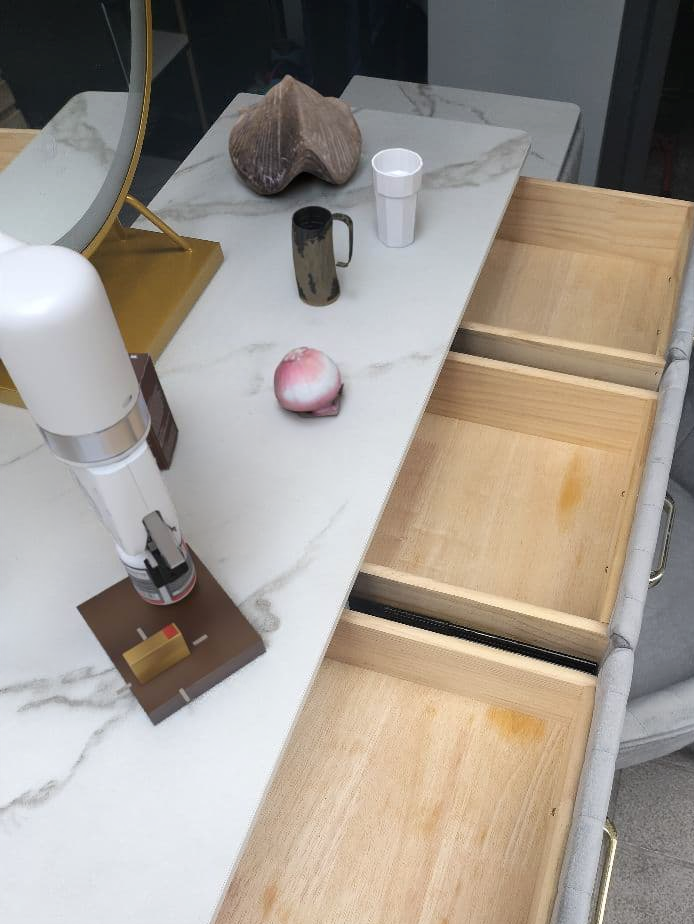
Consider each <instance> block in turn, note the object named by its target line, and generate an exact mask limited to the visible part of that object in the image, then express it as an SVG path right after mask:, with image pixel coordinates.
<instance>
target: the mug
mask: <svg viewBox="0 0 694 924" xmlns="http://www.w3.org/2000/svg"><path fill="white" fill-rule="evenodd" d="M334 220H335V221H340V222H343V223H344V224H345V225H346V226H347V228H348V261H347V262H344V261H337V262H336V258H335V248H334V234H333V231H334V230H333V229H334ZM291 249H292V261H293V269H294V277H295V283H296V287H297V291H298V292H297V293H298V297H299V299H300V300H301V302H303V303H304V304H306V305H309V306H312V307H325V306H329V305H332V304H333V303H334V302H336V301H337V300H338V299H339V298H340V296H341V287H340V283H339V282H340V281H339V278H338V273H337V268H338V267H339V268H343V269H344V268H347V267H349V264H350V263H351V261H352V258H353V253H354V252H353V251H354V222H353V219H352V217H350V216H349V215H347V214H345V213H342V212H335V213H332V212H331V211H330V210H329V209H328V208H325V207H322V206H319V205H308V206H303V207H301V208H299V209H297V210H296V211H295V212H293V214H292V216H291Z"/></svg>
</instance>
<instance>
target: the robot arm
mask: <svg viewBox="0 0 694 924" xmlns="http://www.w3.org/2000/svg"><path fill="white" fill-rule="evenodd" d="M112 308H113V307H112V306H111V303H110V300H109V297H108V294H107V292H106V288H105V285H104V283H103V282H102V279H101V277H100V274H99V272H98V270H97V269H96V267H95V266H94V265H93V264H92V262H91V261H89V259H87V258H86V257H85V256H84V255H82V254H81V253H79V252H78V251H75V250H74V249H71V248H69V247H66V246H61V245H54V244H45V243H44V244H41V243H40V244H32V243H30V242H28V241H25V240H23V239H20V238H19V237H16V236H14V235H12V234H10V233H8V232H5V231H3V230H1V229H0V360H1V361H2V363H3V365H4V367H5V369H6V371H7V373H8V375H9V377H10V378H11V381H12V382H13V384H14V386H15V388H16V390H17V392H18V394H19V396H20V398H21V400H22V402H23V404H24V405H25V407H26V409H27V412H28V413H29V415H30V417H31V418H32V420H33V422H34V424H35V426H36V428H37V430H38V431H39V433H40V435H41V437H42V439H43V441H44V443H45V445H46V447H47V448H48V450H49V452H50V453H51V454H52V456H53V457H54V458H55V459H57V460H58V461H60V462H62V463H63V464H65V465H67V466H68V469H69V471H70V473H71V476H72V479H73V480H74V482H75V484H76V486H77V488H78V491H79V492H80V494H81V495H82V497H83V499H85V501H86V503H87V504H88V506H89V507H90V508H91V510H92V511H93V513H94V515H96V517H97V518H98V520H99V521H100V522H101V524H102V525H103V526H104V528H105V529H106V531H107V532H108V534H109V535H110V536H111V537H112V538H113V541H114V542H115V541H116V543H117V544H118V545H119V546H120V548H121V549H122V550H123V551H124V552H125V553H126V554H127V555H130V556H136V555H138V554H140V553H142V552H143V554H144V556H145V557H146V559H145V560H144V561H143V562H144V564H145V566H146V568H147V570H148V572H149V574H150V577H151V579H152V581H153V583H154V585H155V586H156V587H157V588H161V587H163V586H165V585H166V584H168V583H172V582H174V581H176V580H178V579H179V578H180V577H181V576H182V575H183V574H185V573H186V572H187V571H188V570H189V568H188V565H187V562H186V560H185V557H184V555H183V552H182V550H181V547H180V545H179V544H178V542H177V540H176V538H175V536H174V534H173V532H172V531H175V532H177V531H178V528H179V529H180V520H179V516H178V513H177V509H176V507H175V504H174V502H173V499H172V497H171V494H170V492H169V489H168V486H167V484H166V482H165V480H164V477H163V474H162V473H161V469H159V468H158V466H157V463H156V459H155V458H154V457H153V454H152V452H151V450H150V448H149V446H148V443H147V441H146V437H147V436H148V433H149V430H150V425H151V419H150V414H149V411H148V408H147V406H146V403H145V400H144V397H143V394H142V392H141V389H140V386H139V383H138V381H137V378H136V375H135V372H134V369H133V367H132V364H131V361H130V358H129V355H128V353H129V352H128V350H127V347H126V345H125V342H124V339H123V337H122V333H121V331H120V328H119V325H118V322H117V320H116V316H115V314H114V311H113V309H112ZM145 528H146V529H145ZM152 541H154V543H155V544H156V546H157V549H155V550H154V551H151V550H150V548H149V546H148V543H150V542H152Z"/></svg>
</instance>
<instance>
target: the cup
mask: <svg viewBox="0 0 694 924" xmlns="http://www.w3.org/2000/svg"><path fill="white" fill-rule="evenodd" d="M423 166H424V163H423V159H422V157H421V156H420V155H419V154H418V153H417V152H415V151H412V150H410V149H406V148H401V147H397V148H388V149H384V150H380V151H378V153H376V154H374V156H373V157H372V159H371V173H372V175H371V176H372V185H373V189H374V193H375V206H376V217H377V229H378V240H379V241H380V242H381V243H382V244H384V245H385V246H386V247H387V248H398V249H400V248H401V249H402V248H405V247H407V246H409V245H411V244H414V241H415V235H416V222H417V212H418V211H417V209H418V198H419V197H418V196H419V190H420V188H421V187H422V180H423V170H424V169H423V168H424V167H423Z"/></svg>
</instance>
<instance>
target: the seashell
mask: <svg viewBox="0 0 694 924" xmlns="http://www.w3.org/2000/svg"><path fill="white" fill-rule="evenodd" d="M228 136H229V137H228V153H229V158H230V161H231V163H232V166H233V168H234V170H235V171H236V173H237V175H238V177H239V178H240V179H241V180H242V181H243V183H245V184H246V185H247V186H248V187H249V188H251V189H252V190H253V191H255V192H257V193H258V194H260V195H274V194H277V193H279V192H281V191H283V190H284V189H285V188H286V187H287V186H288V185H289V184H290V183H291V182H292V181H293V180H294V179H295V178H296V177H297V176H299V175H300V174H301V173H304V172H305V173H308V174H311V175H313V176H315V177H317V178H318V179H321V180H323V181H325V182H327V183H330V184H333V185H342V184H344V183H346V182H347V181H349V180H350V178H351V177H352V176H353V174H354V173H355V170H356V168H357V166H358V164H359V161H360V159H361V155H362V143H363V142H362V141H363V138H362V133H361V130H360V128H359V124H358V122H357V120H356V118H355V116H354V115H353V113H352V110H351V106H350V104H349V103H347V102H346V101H345V100H342V99H340V98H339V97H338V98H337V97H334V96H324V95H322V94H320V93H319V91H317V90H315V89H314V88H312V87H310V86H309V85H307V84H305V83H304V82H301V81H299V80H297V79H295V78H294V77H293V76H292V75H290V74H286V75H285V76H284V77H283V78H282V80H281V81H279V82H277V83H276V84H275V85H274V86H272V87H271V88H270V89H269V90H268V91H267V92H266V93H265V94H264V96H263V97H262V98H261V99H260V100H259V101H258V102H257V103H256V104H254V105H249V106H244V107H241V108H239V109H238V114H237V118H236V120H235V123H234V124H233V126H232V128H231V130H230V132H229V135H228Z"/></svg>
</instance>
